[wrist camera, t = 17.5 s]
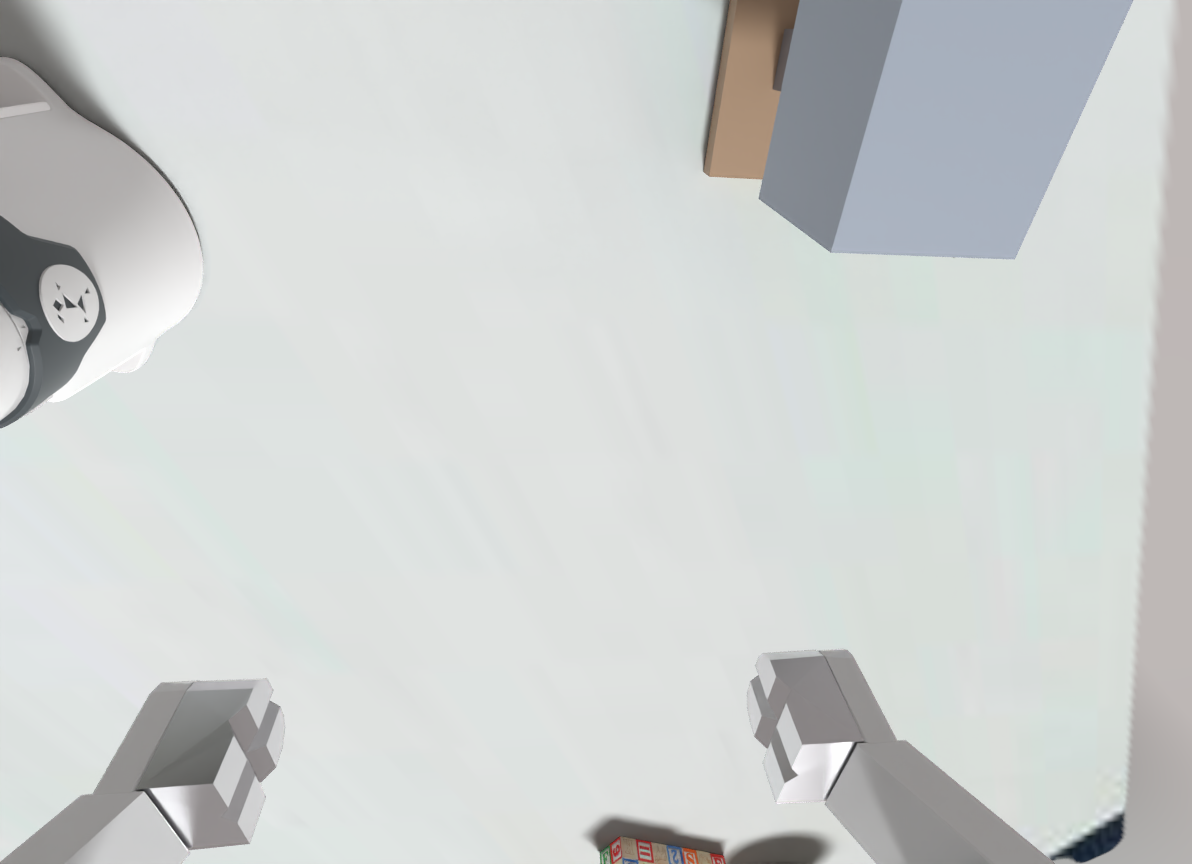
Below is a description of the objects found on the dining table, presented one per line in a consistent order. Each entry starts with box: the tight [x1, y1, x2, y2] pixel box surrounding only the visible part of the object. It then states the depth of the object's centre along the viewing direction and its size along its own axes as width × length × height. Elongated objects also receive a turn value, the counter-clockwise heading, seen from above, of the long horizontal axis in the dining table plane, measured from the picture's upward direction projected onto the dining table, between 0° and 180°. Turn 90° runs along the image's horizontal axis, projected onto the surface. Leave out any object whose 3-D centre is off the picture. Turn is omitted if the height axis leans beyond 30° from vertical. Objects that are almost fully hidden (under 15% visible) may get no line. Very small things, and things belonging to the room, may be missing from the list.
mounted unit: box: [704, 0, 1133, 259], centre depth 29 cm, size 10×13×18 cm
